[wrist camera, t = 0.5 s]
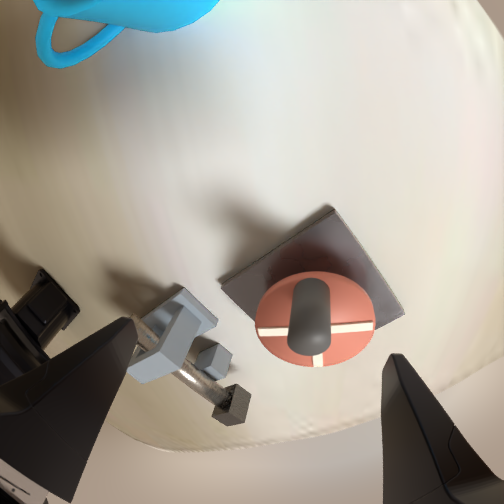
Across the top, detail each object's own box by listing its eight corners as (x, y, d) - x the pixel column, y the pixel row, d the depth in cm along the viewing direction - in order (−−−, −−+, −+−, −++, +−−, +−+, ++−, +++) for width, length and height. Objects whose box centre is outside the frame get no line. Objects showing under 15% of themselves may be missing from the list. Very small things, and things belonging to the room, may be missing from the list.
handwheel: (369, 345, 21) (375, 408, 17) (269, 350, 24) (256, 411, 19) (373, 256, 18) (390, 319, 13) (248, 266, 20) (226, 327, 15)
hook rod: (234, 399, 27) (227, 426, 24) (130, 313, 24) (112, 339, 21) (251, 394, 26) (244, 422, 23) (143, 303, 23) (124, 330, 20)
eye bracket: (199, 369, 29) (180, 415, 24) (140, 319, 27) (111, 364, 22) (249, 347, 26) (234, 402, 21) (184, 287, 24) (153, 339, 19)
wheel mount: (300, 358, 26) (299, 369, 25) (222, 283, 23) (218, 293, 22) (403, 309, 21) (406, 319, 20) (334, 208, 18) (336, 216, 17)
